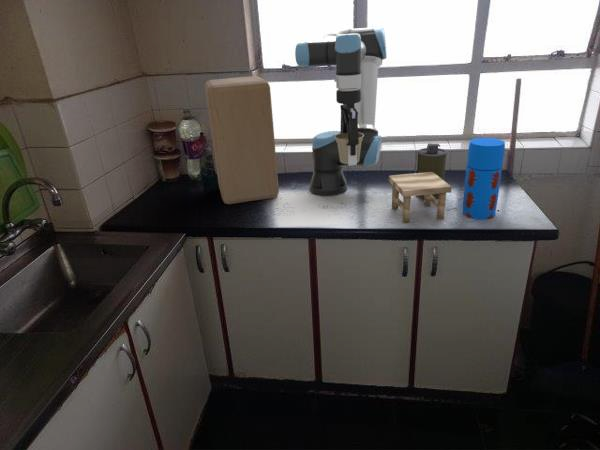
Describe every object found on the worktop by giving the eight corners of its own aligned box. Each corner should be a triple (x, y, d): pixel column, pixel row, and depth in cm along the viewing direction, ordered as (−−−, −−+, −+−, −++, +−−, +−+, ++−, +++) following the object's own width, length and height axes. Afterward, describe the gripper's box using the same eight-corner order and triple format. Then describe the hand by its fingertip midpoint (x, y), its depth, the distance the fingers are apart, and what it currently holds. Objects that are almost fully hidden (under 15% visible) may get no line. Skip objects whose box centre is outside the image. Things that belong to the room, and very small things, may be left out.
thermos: (479, 222, 144) (488, 148, 134) (455, 211, 153) (461, 141, 143) (502, 214, 149) (513, 142, 138) (477, 205, 157) (485, 136, 147)
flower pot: (331, 165, 141) (330, 138, 138) (339, 156, 149) (339, 131, 145) (359, 166, 138) (359, 139, 134) (366, 158, 146) (367, 132, 142)
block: (280, 198, 174) (270, 80, 155) (223, 207, 170) (206, 86, 151) (270, 181, 194) (260, 74, 175) (219, 188, 190) (203, 79, 171)
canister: (440, 190, 172) (444, 140, 164) (445, 200, 163) (450, 147, 155) (412, 191, 174) (414, 141, 165) (415, 200, 164) (418, 148, 156)
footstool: (388, 206, 161) (388, 175, 155) (430, 202, 162) (432, 171, 157) (401, 224, 146) (403, 191, 141) (448, 220, 147) (451, 186, 142)
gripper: (330, 85, 143) (332, 153, 152) (343, 94, 124) (344, 171, 133) (352, 83, 144) (353, 151, 153) (369, 92, 124) (368, 169, 134)
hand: (349, 160), depth 143 cm, fingers closed on flower pot, 8 cm apart
